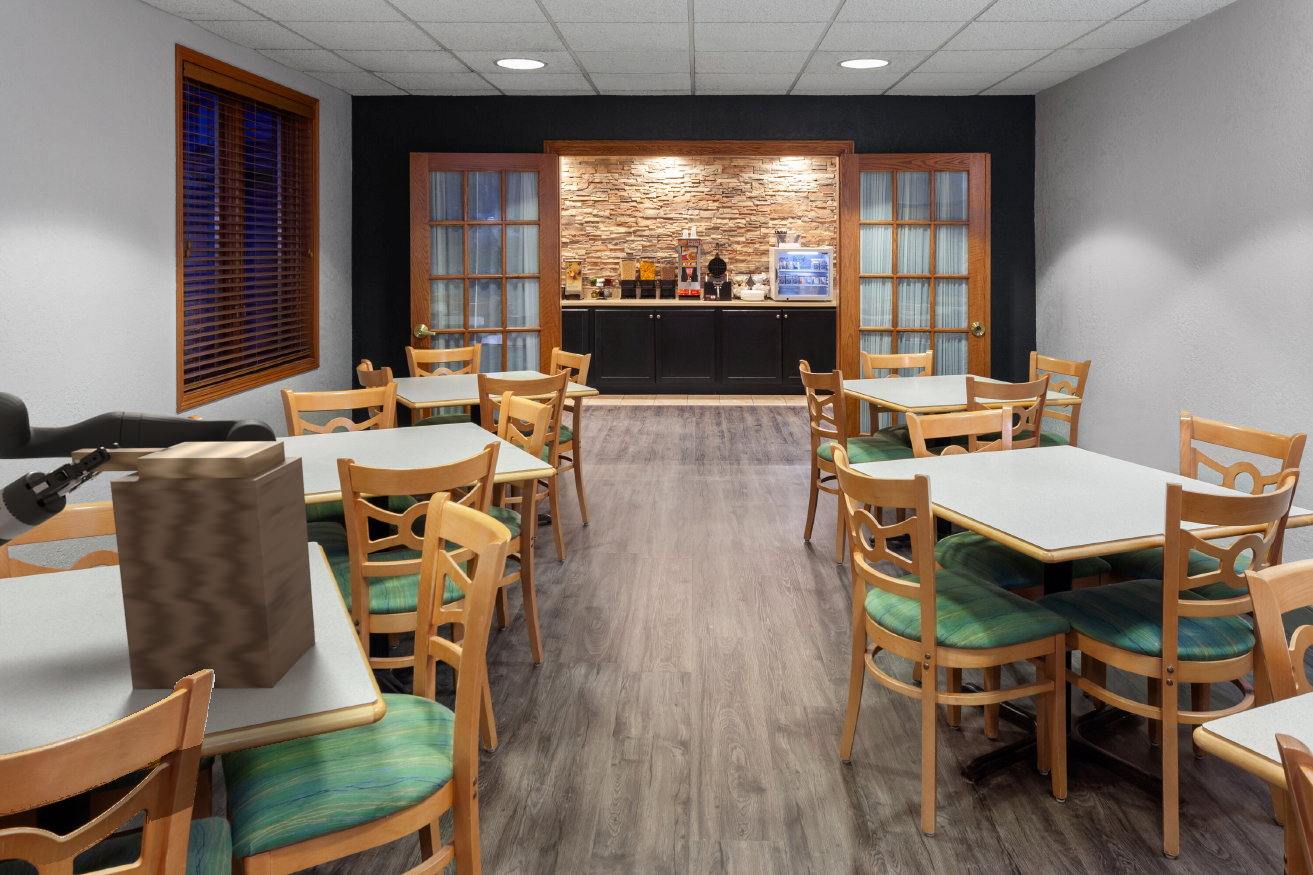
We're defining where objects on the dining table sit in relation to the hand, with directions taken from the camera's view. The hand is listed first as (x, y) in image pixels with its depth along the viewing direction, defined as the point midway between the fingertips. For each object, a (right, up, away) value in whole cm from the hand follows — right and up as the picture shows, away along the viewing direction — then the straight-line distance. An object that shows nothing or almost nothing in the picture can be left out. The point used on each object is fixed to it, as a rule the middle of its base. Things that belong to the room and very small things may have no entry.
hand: (112, 450), depth 142 cm
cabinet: (+15, -34, +6) cm, 38 cm away
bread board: (+9, -3, +1) cm, 9 cm away
